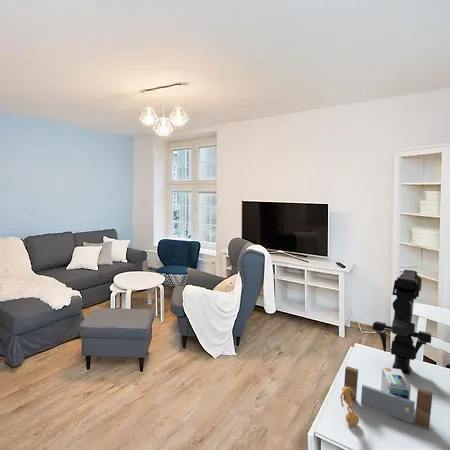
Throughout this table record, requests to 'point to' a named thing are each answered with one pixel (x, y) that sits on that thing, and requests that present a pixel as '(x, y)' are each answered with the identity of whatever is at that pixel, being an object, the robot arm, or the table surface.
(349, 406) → the figurine
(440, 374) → the table surface
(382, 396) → the gate
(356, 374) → the wooden fence posts
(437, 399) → the table surface
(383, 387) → the light bulb box
